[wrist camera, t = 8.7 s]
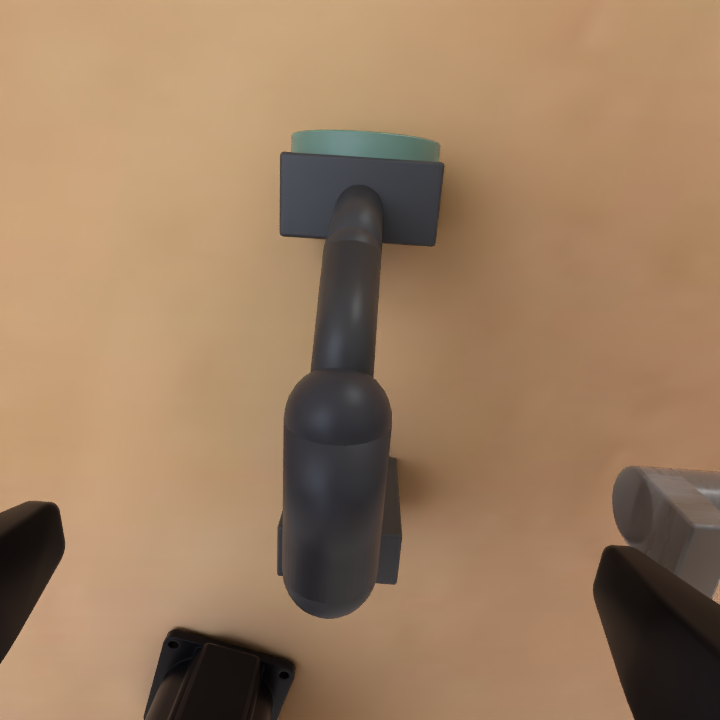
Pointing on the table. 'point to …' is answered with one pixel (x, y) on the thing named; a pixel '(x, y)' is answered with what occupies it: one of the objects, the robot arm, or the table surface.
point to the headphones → (347, 361)
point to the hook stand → (672, 520)
